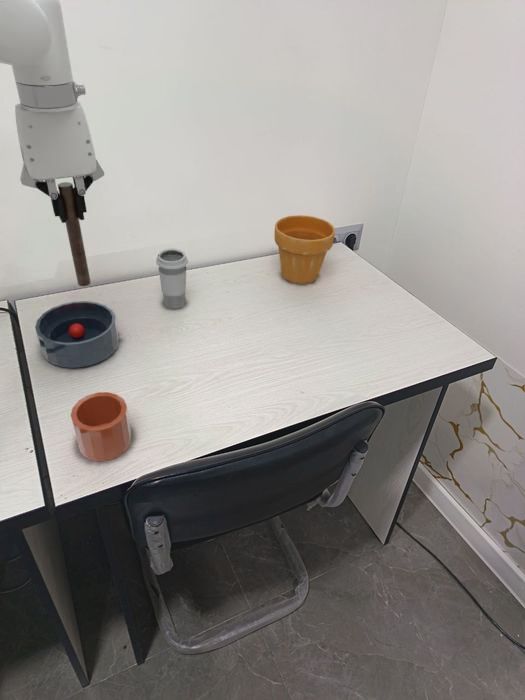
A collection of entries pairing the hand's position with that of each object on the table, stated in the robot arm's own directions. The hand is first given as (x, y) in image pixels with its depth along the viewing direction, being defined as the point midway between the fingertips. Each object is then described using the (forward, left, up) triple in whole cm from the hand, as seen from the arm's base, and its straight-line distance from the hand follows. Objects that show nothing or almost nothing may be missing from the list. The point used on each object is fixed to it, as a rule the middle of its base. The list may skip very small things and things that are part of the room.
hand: (71, 217), depth 81 cm
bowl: (-3, +1, -27) cm, 27 cm away
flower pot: (+52, +8, -27) cm, 59 cm away
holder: (-5, -25, -27) cm, 37 cm away
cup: (+19, +8, -27) cm, 34 cm away
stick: (0, 0, -13) cm, 13 cm away
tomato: (-3, +3, -26) cm, 26 cm away
